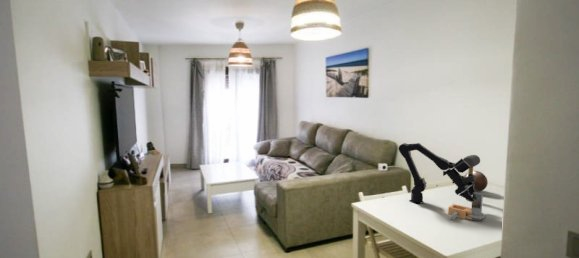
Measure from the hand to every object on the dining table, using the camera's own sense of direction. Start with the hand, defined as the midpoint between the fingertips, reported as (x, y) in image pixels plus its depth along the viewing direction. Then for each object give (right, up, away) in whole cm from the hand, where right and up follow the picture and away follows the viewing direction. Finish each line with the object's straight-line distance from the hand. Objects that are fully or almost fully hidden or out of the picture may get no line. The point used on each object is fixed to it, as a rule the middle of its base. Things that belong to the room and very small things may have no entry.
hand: (475, 199), depth 178 cm
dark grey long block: (+1, -9, 0) cm, 9 cm away
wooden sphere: (+25, -4, +42) cm, 49 cm away
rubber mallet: (+10, -6, +24) cm, 27 cm away
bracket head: (-10, -9, -7) cm, 15 cm away
